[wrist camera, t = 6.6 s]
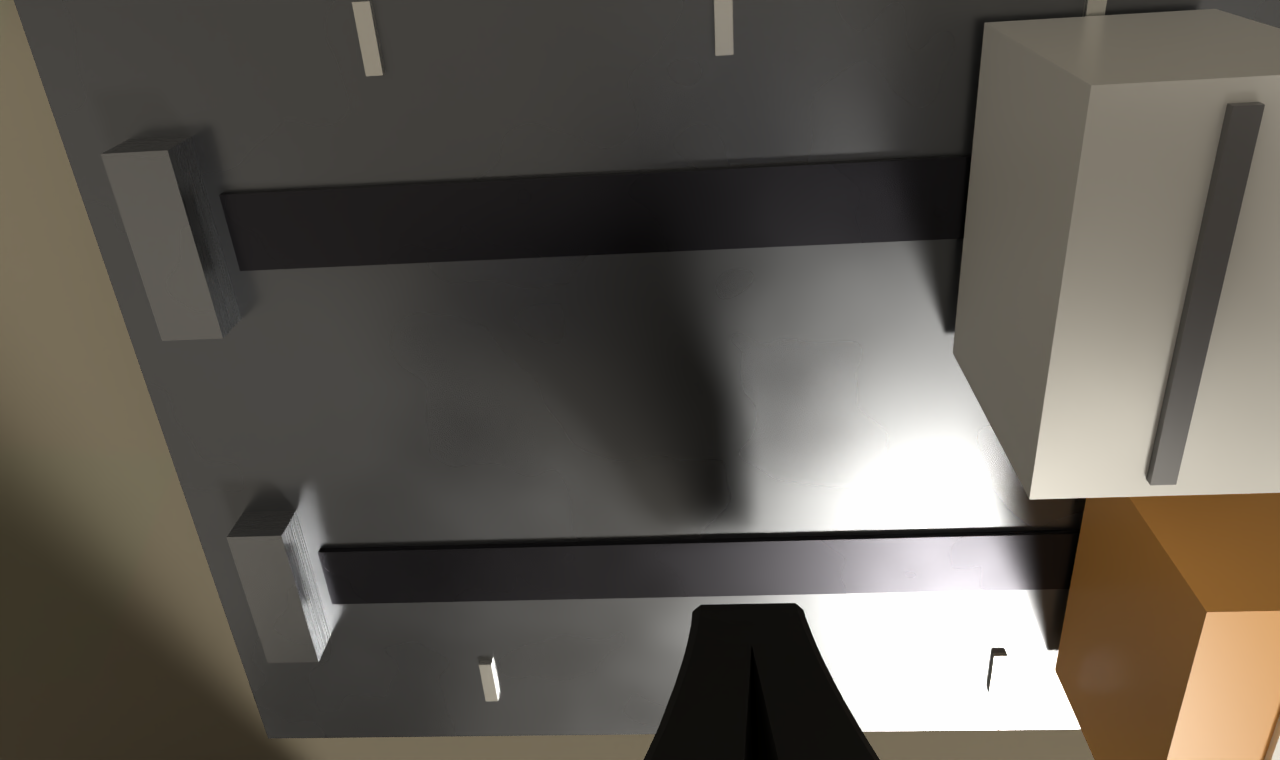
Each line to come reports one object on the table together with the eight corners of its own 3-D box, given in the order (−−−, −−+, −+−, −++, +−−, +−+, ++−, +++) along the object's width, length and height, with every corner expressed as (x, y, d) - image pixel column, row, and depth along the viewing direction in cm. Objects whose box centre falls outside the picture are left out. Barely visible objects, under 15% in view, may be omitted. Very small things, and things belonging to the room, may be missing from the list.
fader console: (1857, -254, 10) (2082, -273, 9) (1453, 664, 16) (1539, 755, 15) (43, -118, 12) (-64, -113, 10) (295, 681, 18) (254, 767, 16)
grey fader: (1214, 9, 10) (1418, 69, 8) (1147, 345, 12) (1289, 499, 9) (984, 23, 11) (1096, 89, 8) (951, 353, 12) (1033, 505, 10)
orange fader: (1282, 442, 13) (1455, 613, 10) (1218, 667, 15) (1346, 867, 12) (1095, 448, 13) (1211, 619, 10) (1054, 670, 15) (1142, 867, 12)
